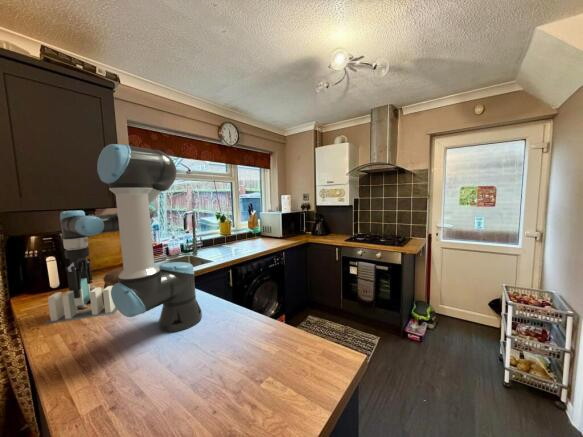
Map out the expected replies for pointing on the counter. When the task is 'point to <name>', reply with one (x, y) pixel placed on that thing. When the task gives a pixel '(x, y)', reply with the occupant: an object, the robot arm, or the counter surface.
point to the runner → (81, 315)
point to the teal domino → (84, 290)
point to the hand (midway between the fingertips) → (83, 301)
